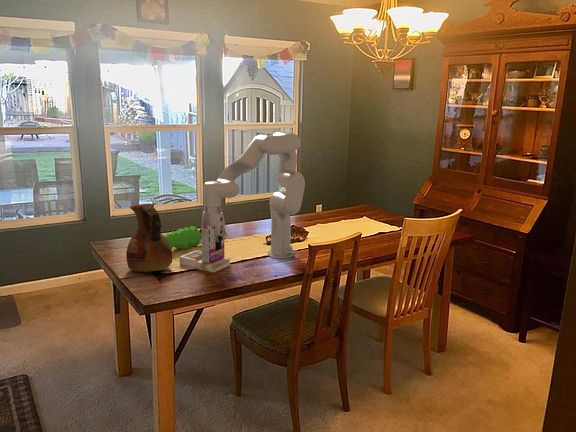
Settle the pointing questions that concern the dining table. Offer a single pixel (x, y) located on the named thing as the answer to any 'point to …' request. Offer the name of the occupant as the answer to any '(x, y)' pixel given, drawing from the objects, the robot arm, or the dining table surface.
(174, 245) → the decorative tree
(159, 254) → the ceramic pitcher
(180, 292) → the dining table surface
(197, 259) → the tile
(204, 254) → the candy bar box
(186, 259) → the tray
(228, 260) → the board
